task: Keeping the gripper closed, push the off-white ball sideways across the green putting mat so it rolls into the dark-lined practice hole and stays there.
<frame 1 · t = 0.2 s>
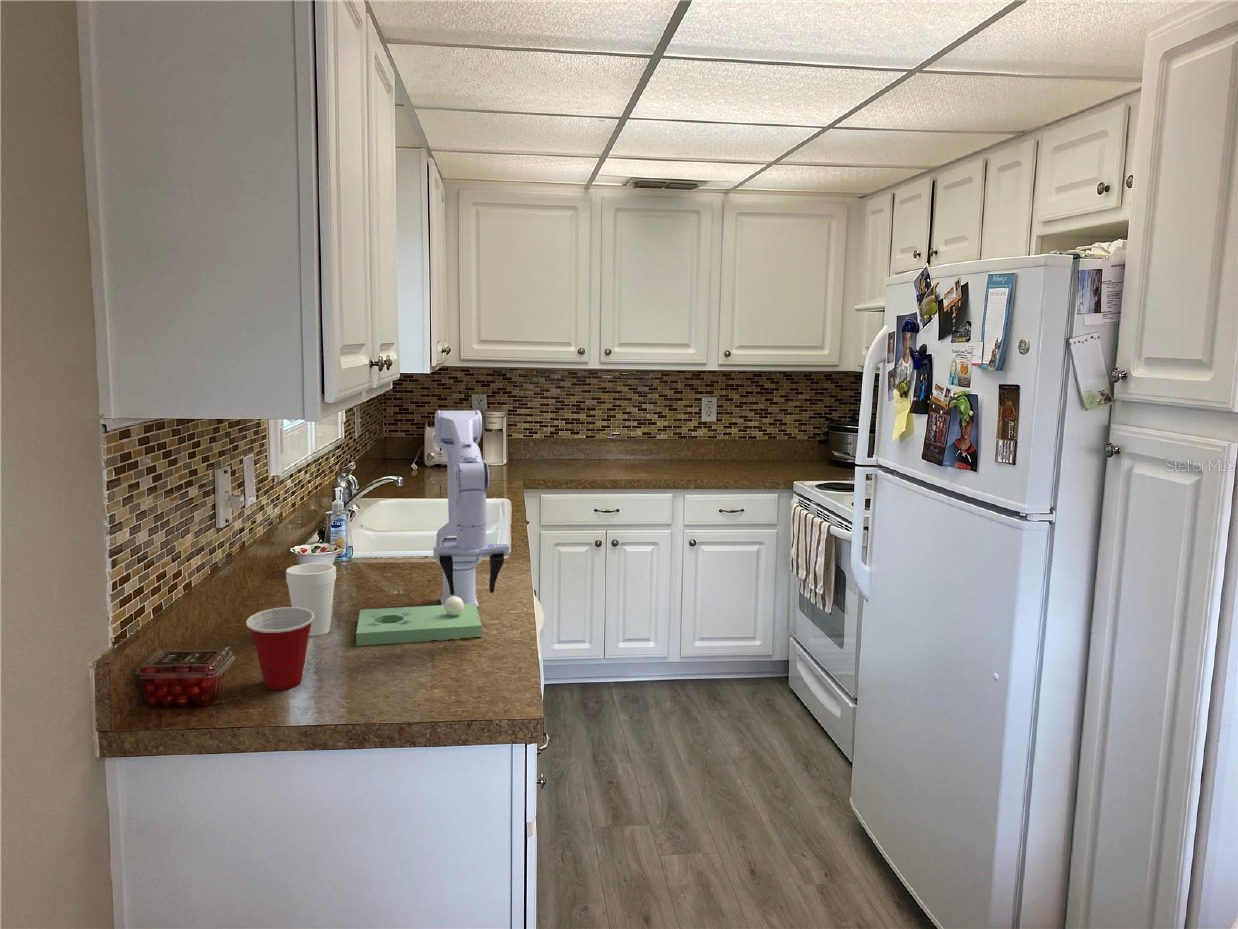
hand: (471, 592, 170), 10 cm above the table, tool pointing down, fingers open, 7 cm apart
ball: (454, 606, 179), point 4 cm above the table, touching putting mat
plastic cup: (283, 685, 148), on the table
foam cup: (313, 632, 176), on the table
putting mat: (419, 629, 178), on the table
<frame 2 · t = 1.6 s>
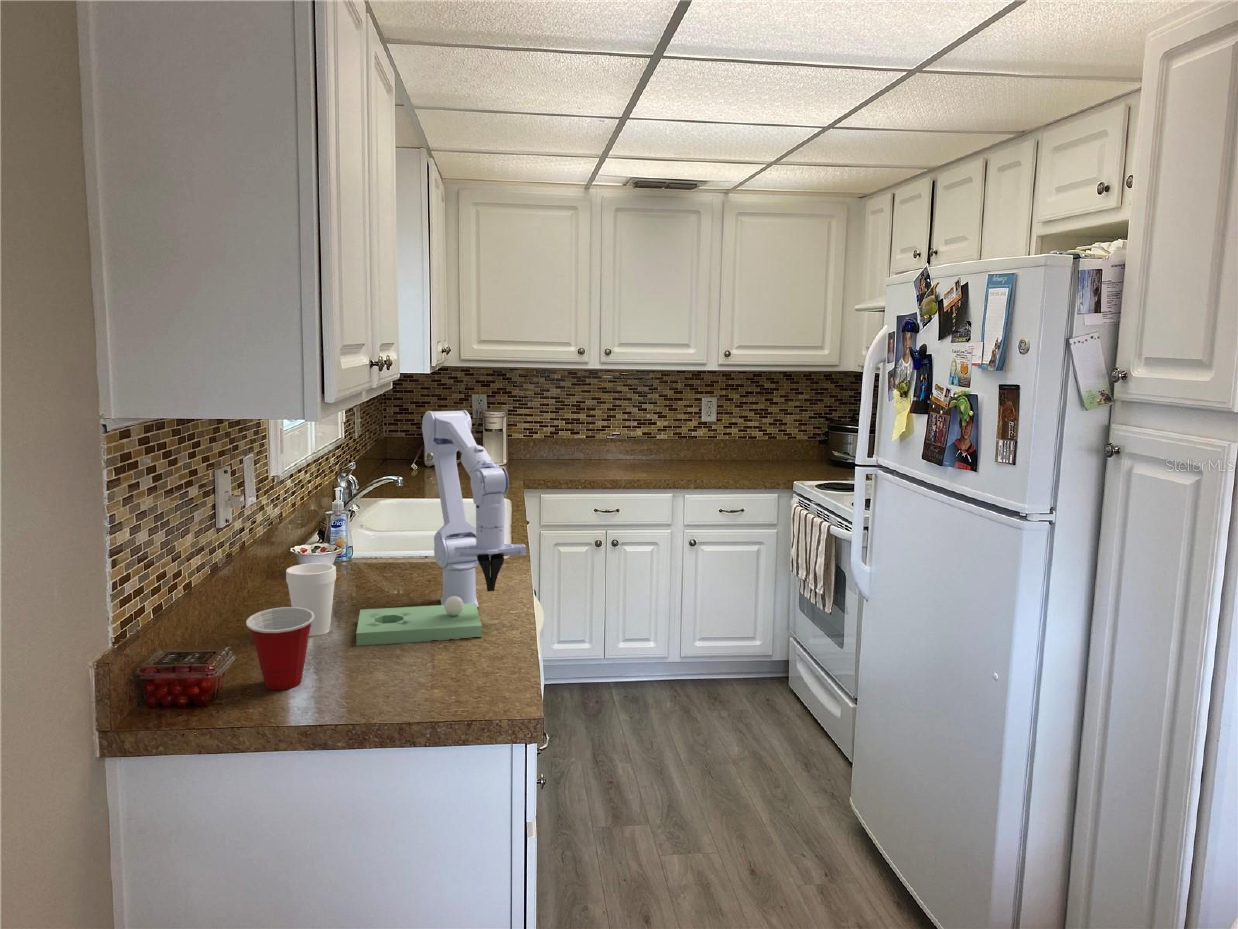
hand: (490, 590, 181), 7 cm above the table, tool pointing down, fingers closed
nothing on the table moved.
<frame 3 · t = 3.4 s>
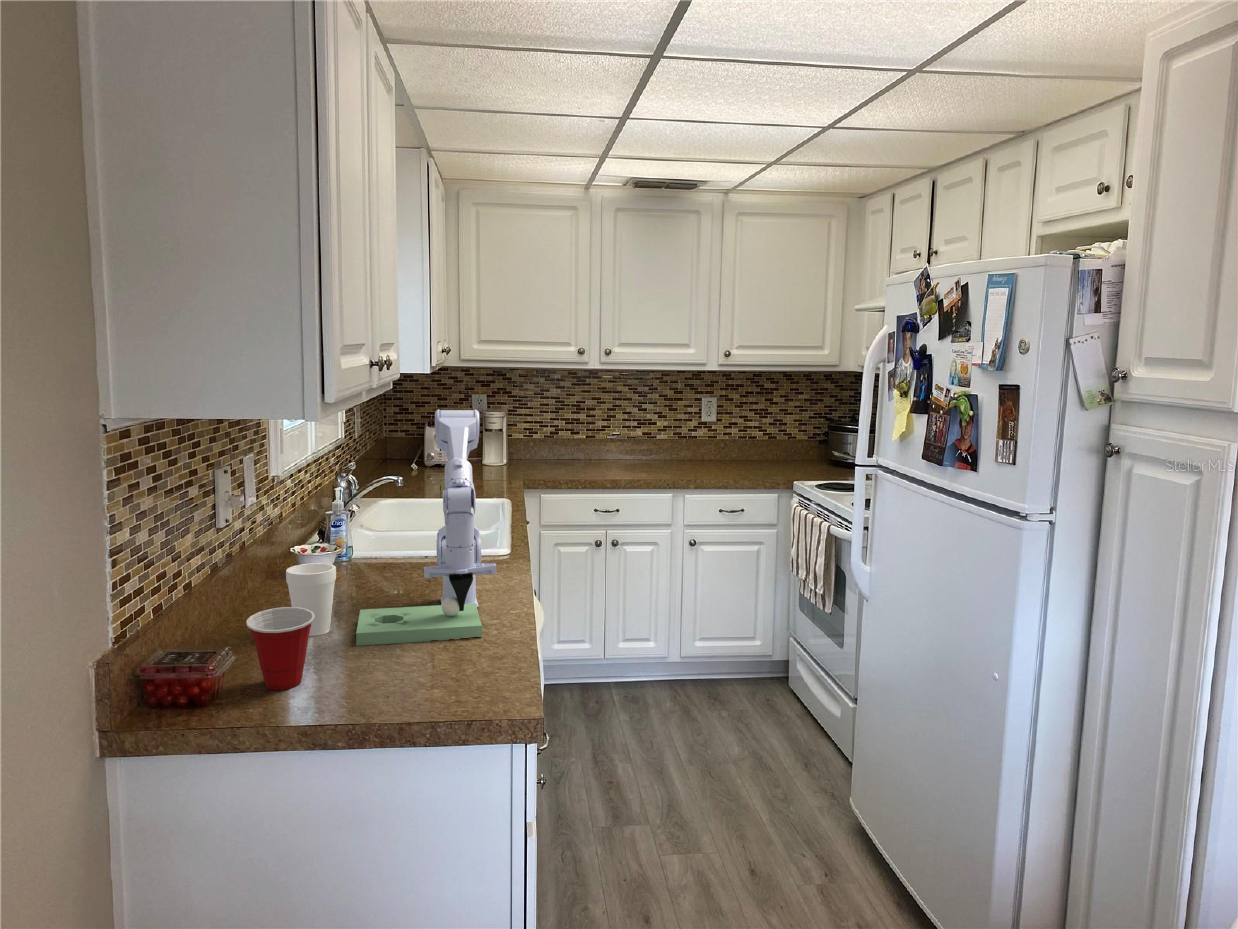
hand: (461, 609, 180), 4 cm above the table, tool pointing down, fingers closed, pressing on ball
ball: (451, 606, 179), point 4 cm above the table, tilted 17°, touching gripper, putting mat
everything else where it was.
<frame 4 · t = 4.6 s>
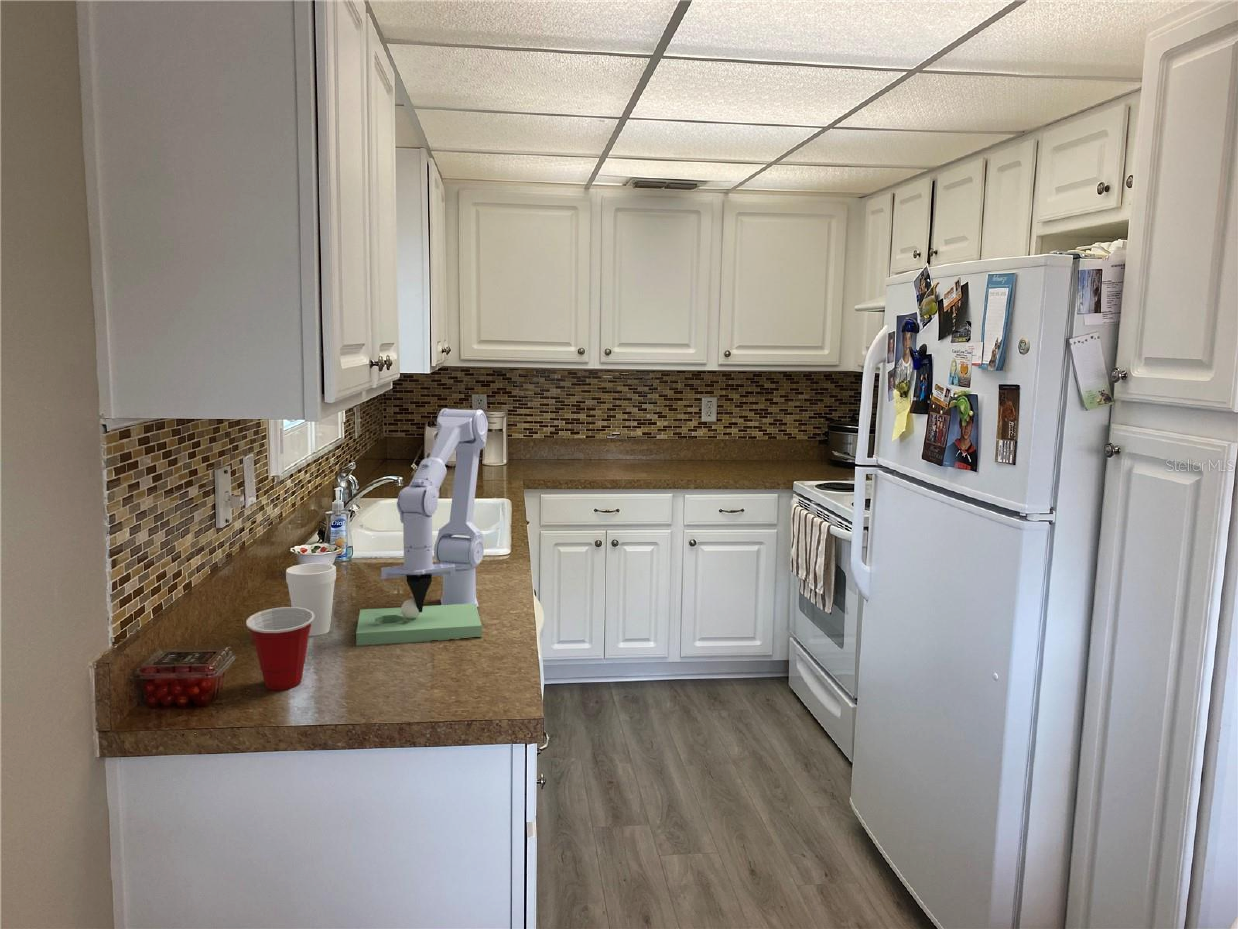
hand: (419, 611, 177), 4 cm above the table, tool pointing down, fingers closed, pressing on ball
ball: (411, 609, 177), point 4 cm above the table, tilted 108°, touching gripper, putting mat
everything else where it was.
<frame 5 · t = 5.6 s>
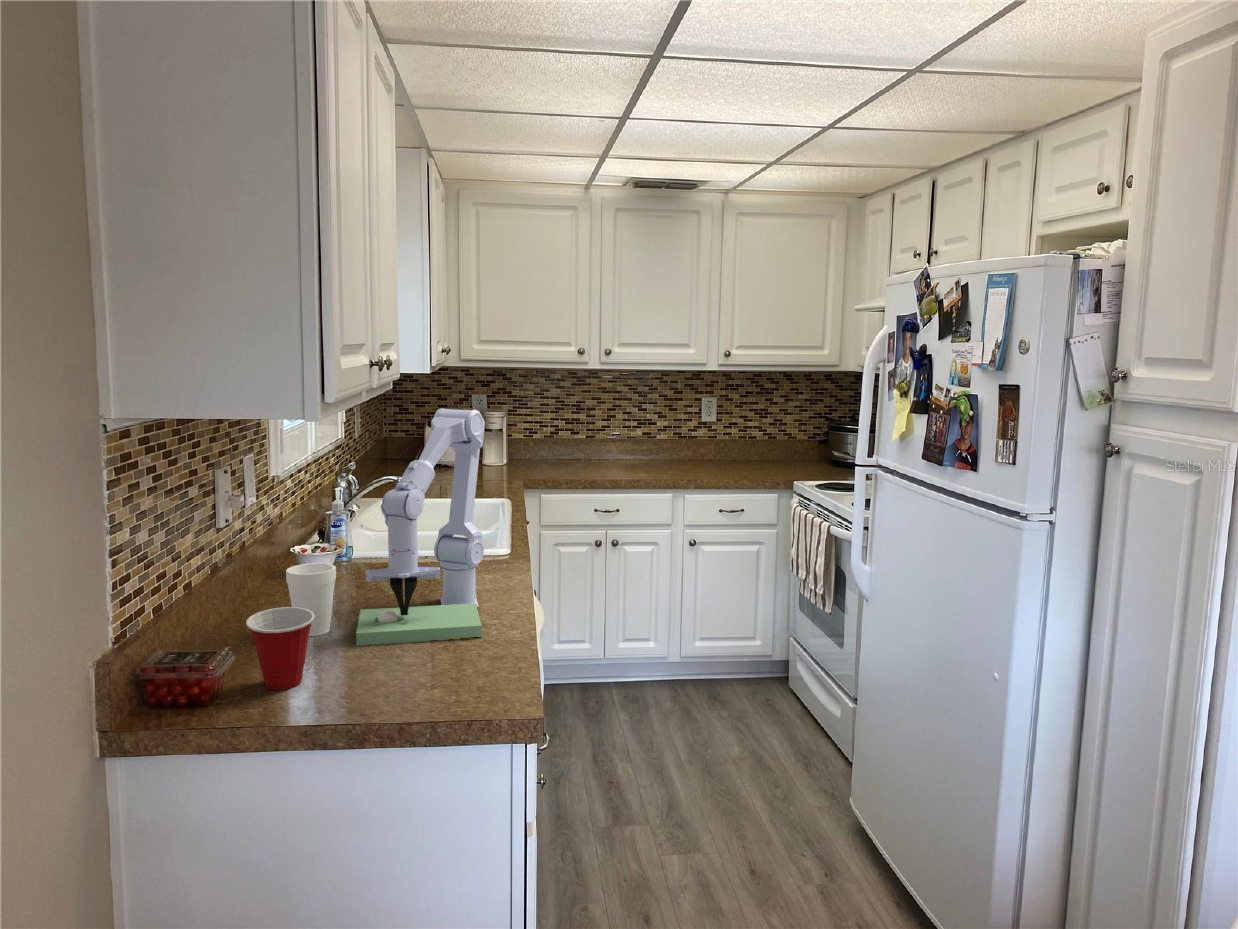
hand: (404, 614, 177), 3 cm above the table, tool pointing down, fingers closed
ball: (387, 619, 177), point 2 cm above the table, tilted 66°, touching putting mat
everything else where it was.
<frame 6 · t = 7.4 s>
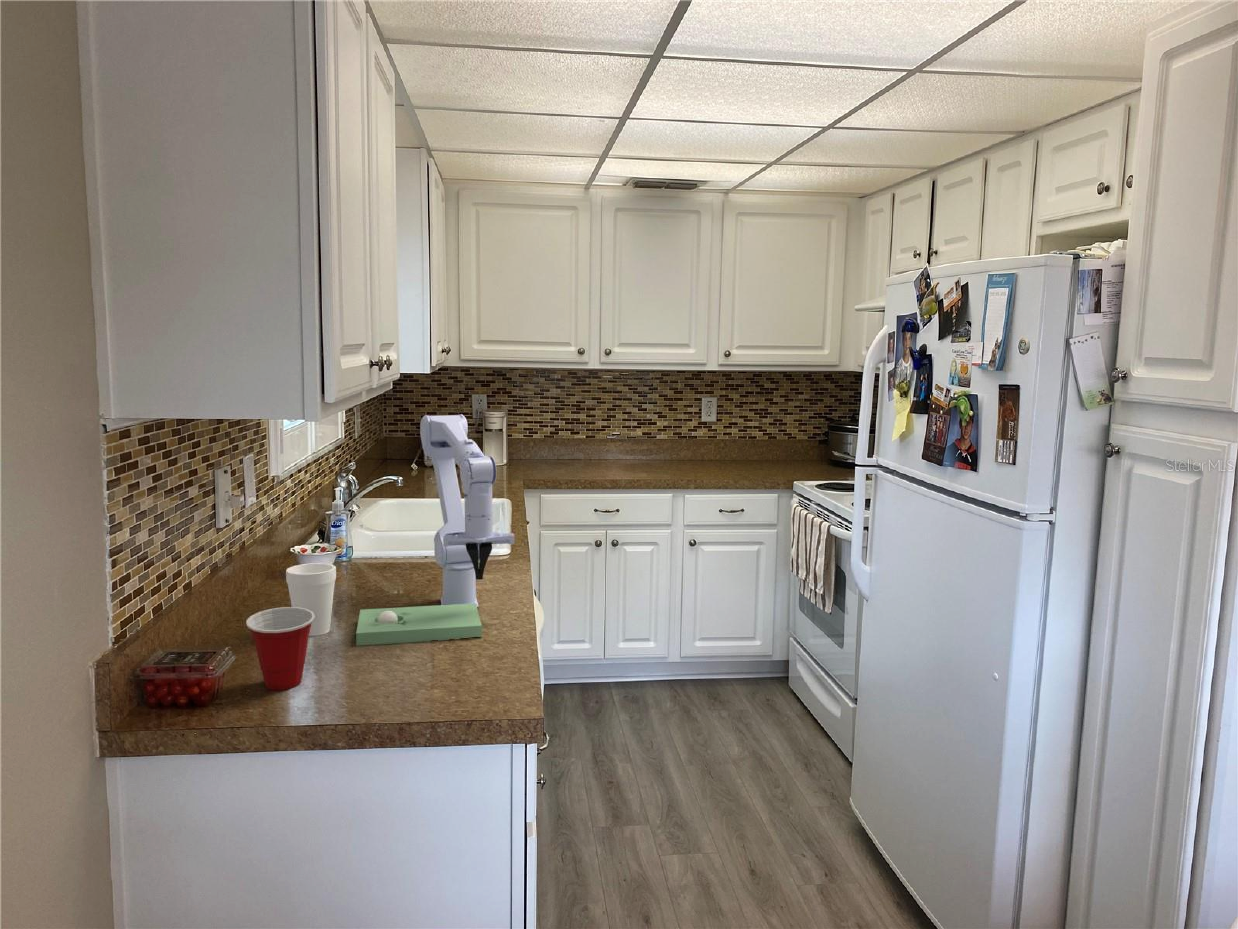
hand: (479, 578, 182), 9 cm above the table, tool pointing down, fingers closed
nothing on the table moved.
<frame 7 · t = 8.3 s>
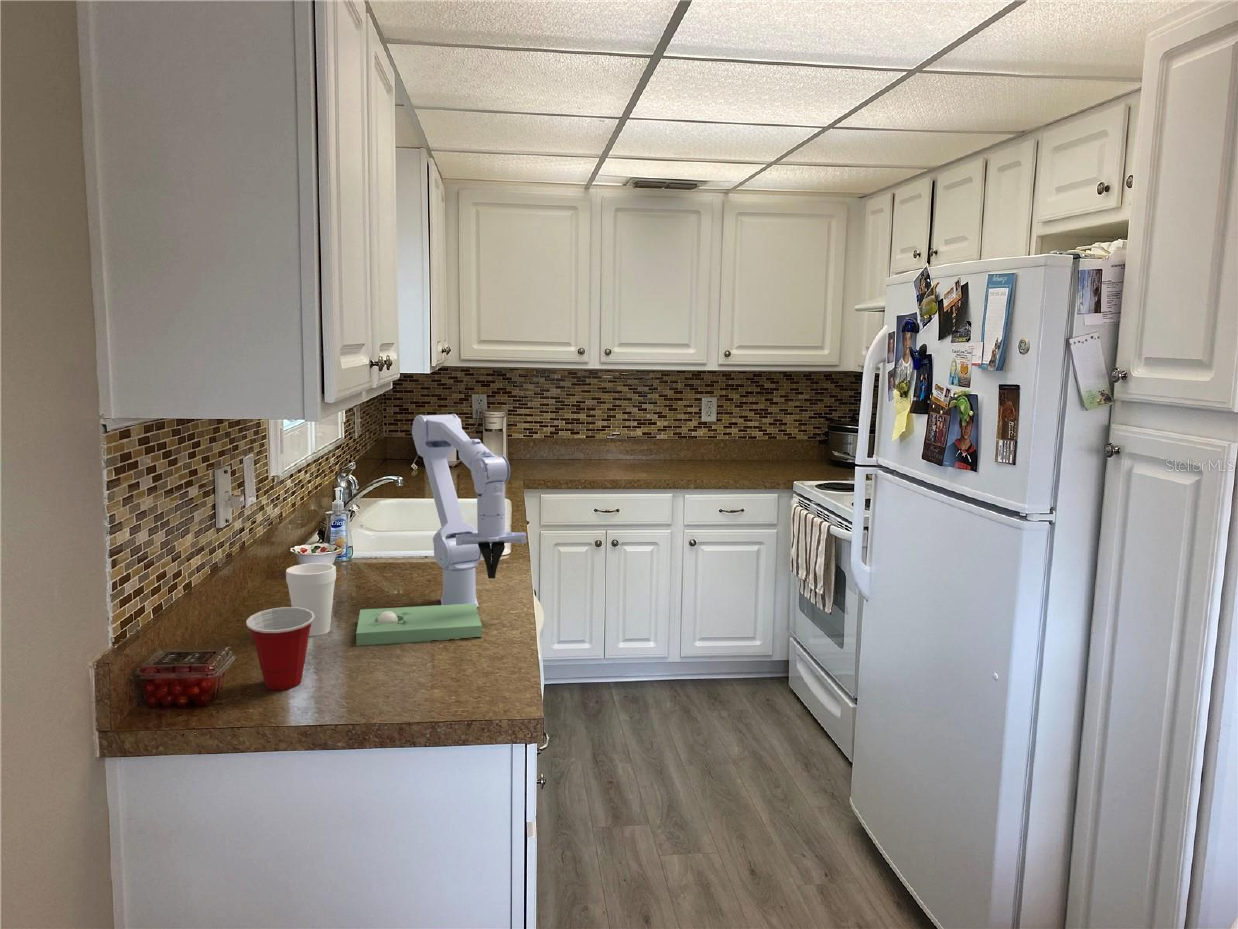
hand: (491, 577, 184), 9 cm above the table, tool pointing down, fingers closed
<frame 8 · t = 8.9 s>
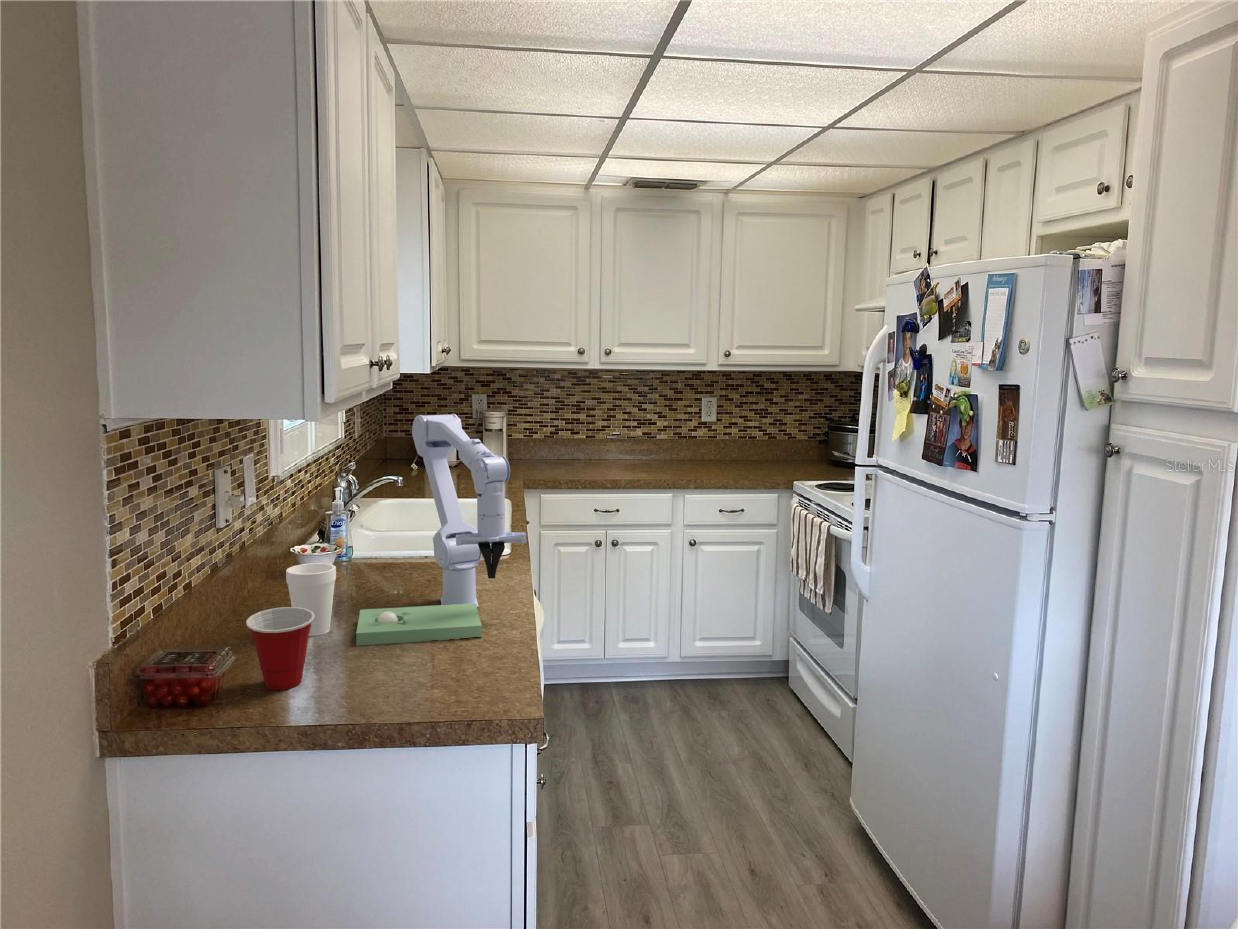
hand: (491, 577, 184), 9 cm above the table, tool pointing down, fingers closed
at the end: ball 0.7 cm from the target spot on the putting mat, point 2.2 cm above the putting mat's base; ball moved 13.5 cm from its start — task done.
